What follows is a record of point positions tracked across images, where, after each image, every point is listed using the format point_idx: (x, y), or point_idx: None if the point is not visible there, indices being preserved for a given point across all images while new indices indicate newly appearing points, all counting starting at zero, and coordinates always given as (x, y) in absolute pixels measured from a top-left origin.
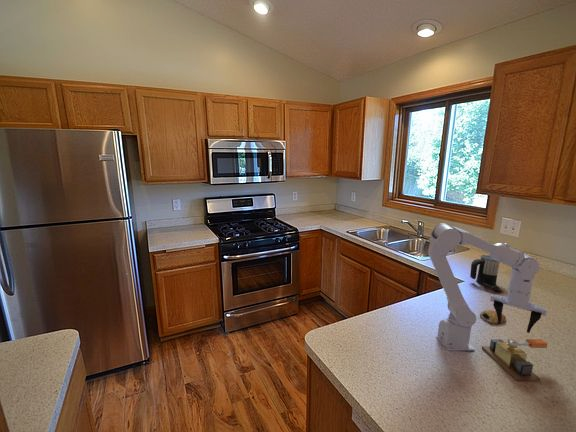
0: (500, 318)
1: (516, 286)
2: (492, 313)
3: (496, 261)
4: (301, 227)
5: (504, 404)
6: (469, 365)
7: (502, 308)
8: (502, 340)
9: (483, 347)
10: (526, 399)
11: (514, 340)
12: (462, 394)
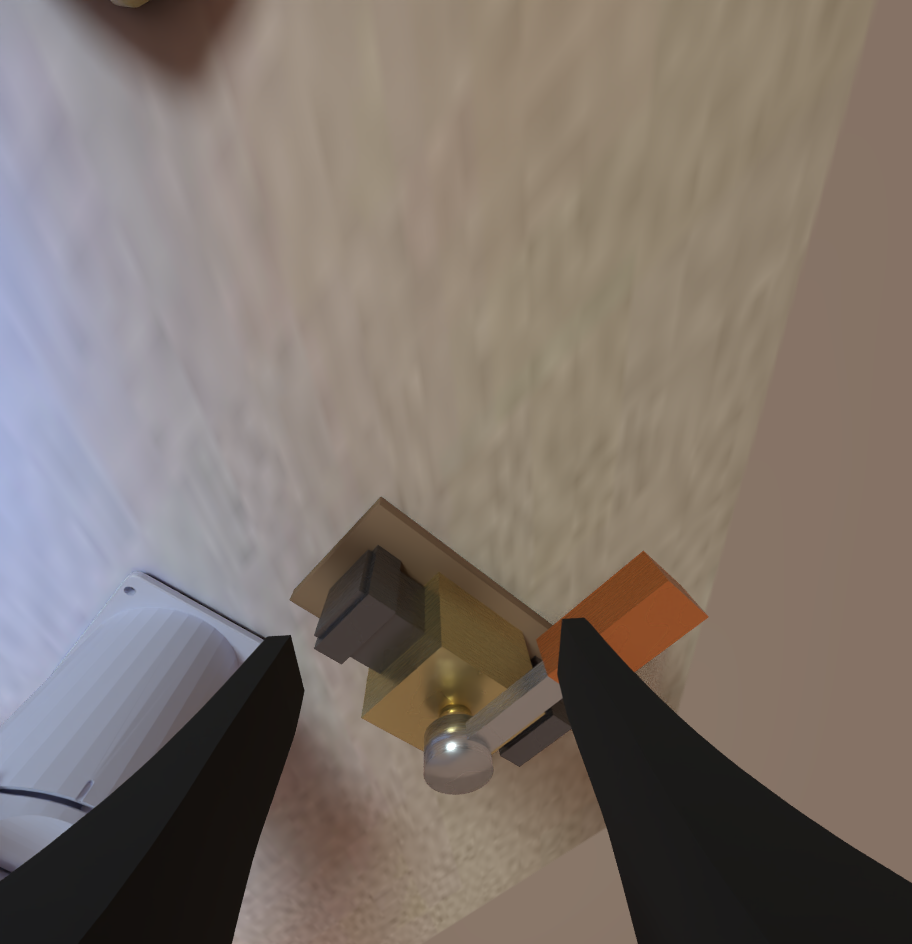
0: (273, 790)
1: None
2: None
3: None
4: None
5: (476, 842)
6: (313, 759)
7: (172, 897)
8: (379, 602)
9: (301, 606)
10: (535, 781)
11: (467, 749)
12: (361, 886)
